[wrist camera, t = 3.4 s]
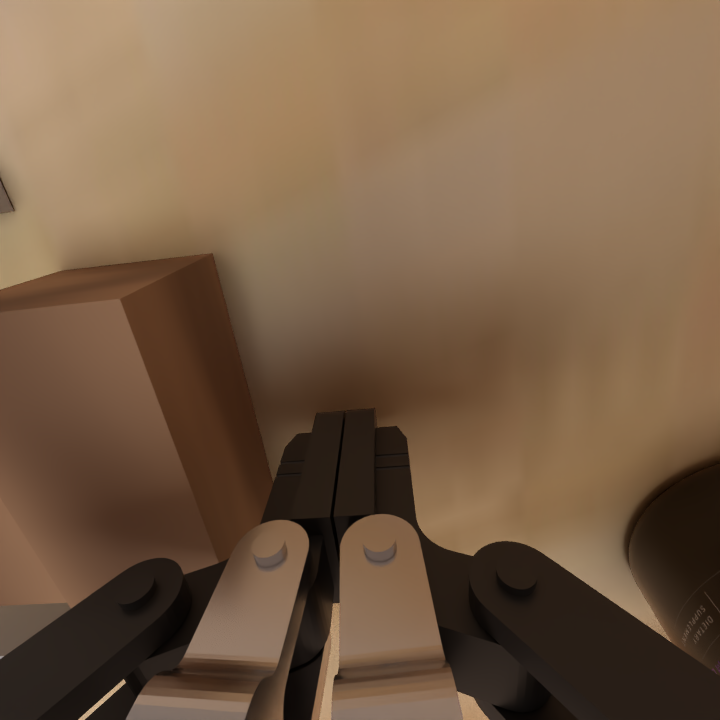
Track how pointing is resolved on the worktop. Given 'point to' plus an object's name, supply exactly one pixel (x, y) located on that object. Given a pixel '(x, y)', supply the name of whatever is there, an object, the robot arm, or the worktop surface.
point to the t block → (121, 428)
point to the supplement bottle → (683, 563)
